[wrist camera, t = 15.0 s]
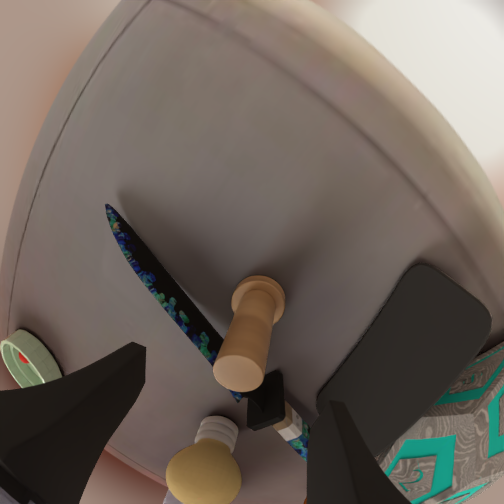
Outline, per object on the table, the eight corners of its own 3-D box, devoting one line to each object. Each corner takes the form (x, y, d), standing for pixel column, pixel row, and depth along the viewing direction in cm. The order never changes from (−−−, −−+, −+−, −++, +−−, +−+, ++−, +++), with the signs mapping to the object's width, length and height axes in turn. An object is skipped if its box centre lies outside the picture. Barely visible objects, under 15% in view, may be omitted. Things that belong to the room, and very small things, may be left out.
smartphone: (308, 404, 22) (414, 253, 17) (315, 401, 22) (418, 254, 18) (361, 468, 16) (501, 318, 11) (366, 463, 17) (502, 317, 12)
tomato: (36, 358, 28) (25, 352, 27) (32, 348, 27) (21, 342, 26) (29, 368, 26) (19, 362, 26) (25, 359, 25) (14, 353, 25)
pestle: (276, 326, 21) (264, 408, 13) (228, 312, 21) (195, 387, 13) (292, 283, 19) (288, 357, 12) (240, 268, 20) (207, 333, 12)
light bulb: (191, 433, 26) (162, 506, 17) (188, 396, 24) (150, 480, 15) (250, 445, 26) (232, 523, 16) (256, 410, 24) (236, 502, 14)
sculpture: (490, 323, 25) (309, 498, 23) (499, 247, 19) (244, 494, 16) (560, 371, 14) (363, 571, 12) (603, 303, 8) (317, 612, 5)
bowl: (71, 399, 29) (57, 415, 26) (24, 368, 30) (11, 380, 26) (58, 348, 26) (40, 364, 23) (10, 316, 26) (-7, 328, 23)
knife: (345, 451, 23) (346, 485, 18) (319, 460, 23) (316, 493, 19) (149, 180, 21) (113, 180, 16) (124, 204, 22) (87, 208, 17)
